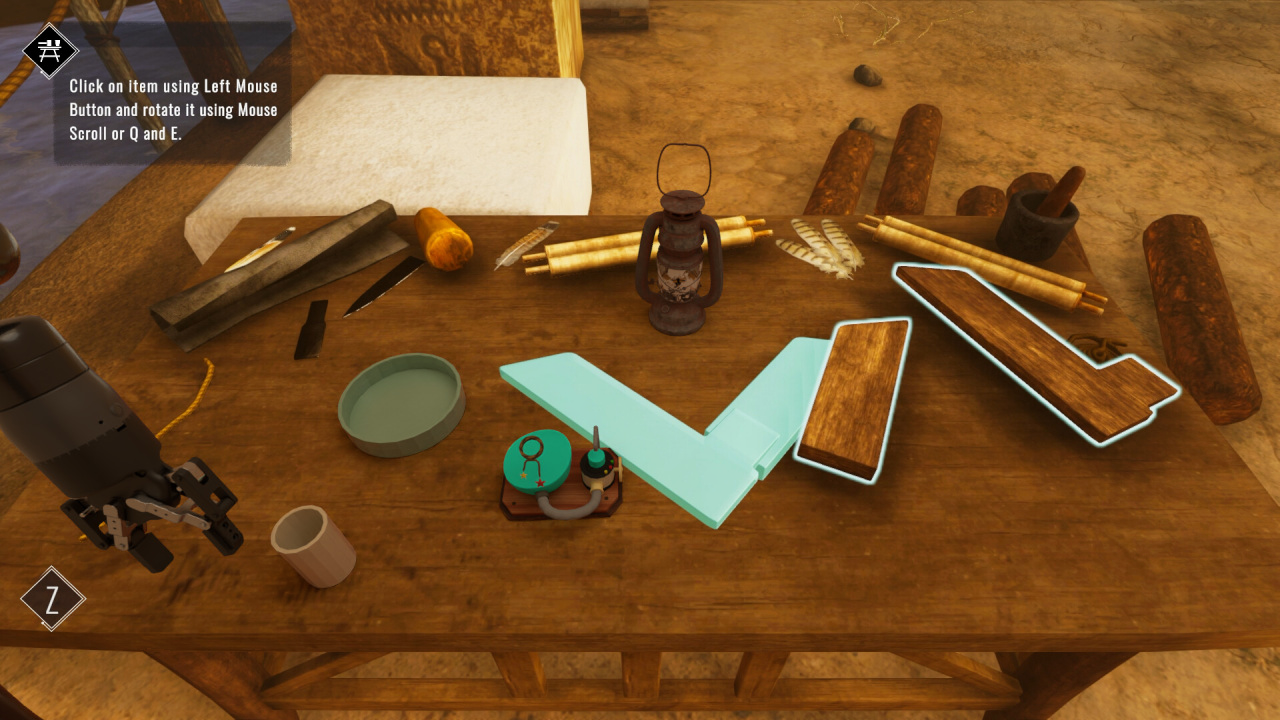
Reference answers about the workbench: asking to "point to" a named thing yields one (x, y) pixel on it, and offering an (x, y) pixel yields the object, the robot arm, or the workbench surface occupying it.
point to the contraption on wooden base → (559, 479)
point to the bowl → (402, 405)
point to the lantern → (680, 260)
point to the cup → (314, 546)
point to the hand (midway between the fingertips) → (200, 557)
